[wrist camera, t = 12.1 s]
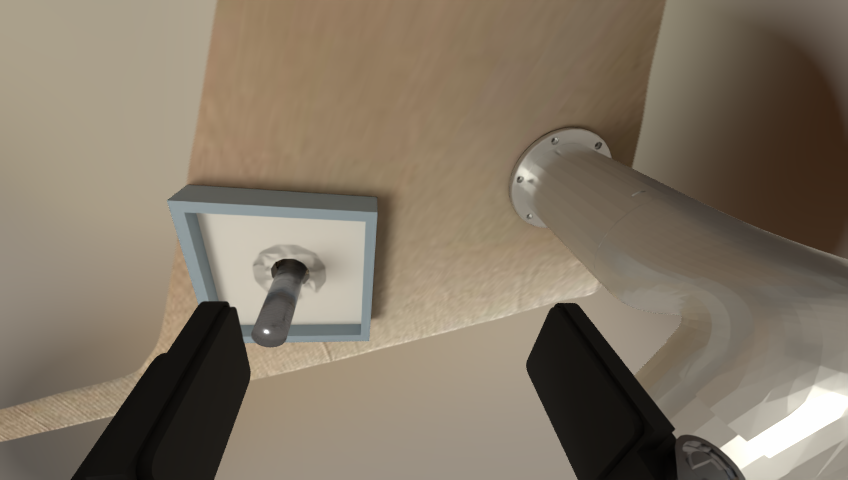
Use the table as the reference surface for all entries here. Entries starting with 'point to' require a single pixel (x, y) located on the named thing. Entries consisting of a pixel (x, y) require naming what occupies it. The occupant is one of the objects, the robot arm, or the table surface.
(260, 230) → the box
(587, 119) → the table surface
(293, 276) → the peg
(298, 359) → the table surface
